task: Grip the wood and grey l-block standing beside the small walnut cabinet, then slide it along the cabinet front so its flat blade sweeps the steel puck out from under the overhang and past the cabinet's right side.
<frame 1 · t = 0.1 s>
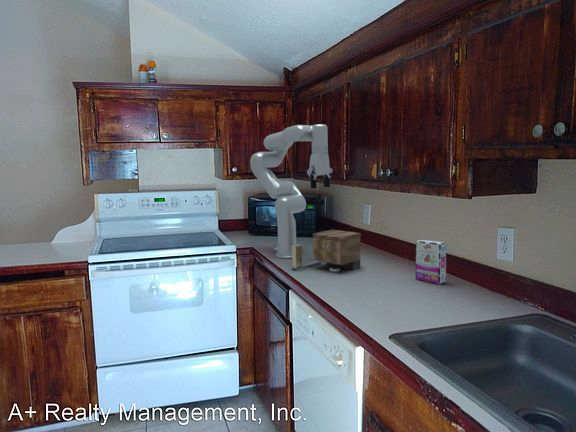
hand: (320, 187, 205), 37 cm above the table, tool pointing down, fingers open, 9 cm apart
steel token: (334, 271, 195), on the table
candy bar box: (430, 281, 174), on the table
wood and grey l-block: (297, 269, 198), on the table
cabinet: (337, 268, 199), on the table
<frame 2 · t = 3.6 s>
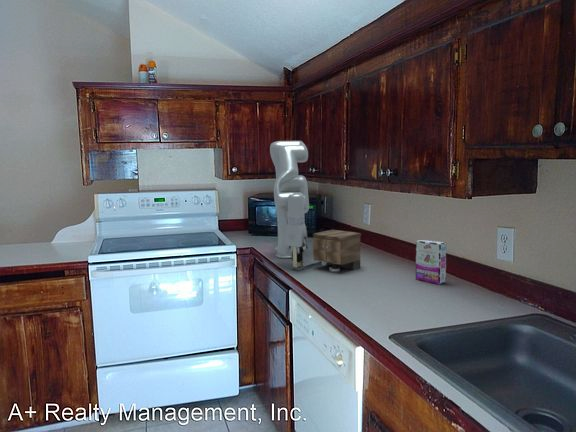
hand: (297, 260, 197), 4 cm above the table, tool pointing down, fingers closed on wood and grey l-block, 2 cm apart
wood and grey l-block: (298, 269, 198), on the table, touching gripper
everything else where it was.
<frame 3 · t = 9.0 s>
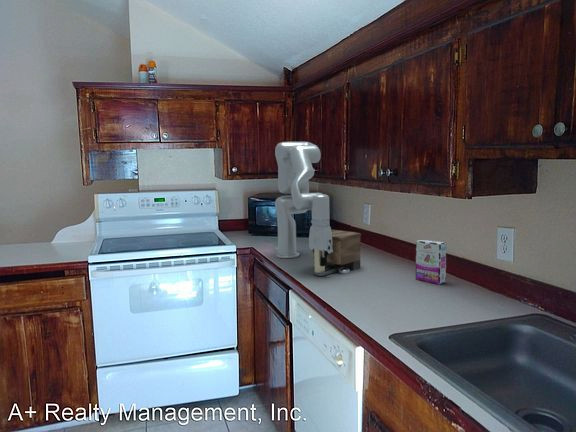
hand: (321, 264, 186), 5 cm above the table, tool pointing down, fingers closed on wood and grey l-block, 2 cm apart
steel token: (344, 272, 191), on the table
wood and grey l-block: (319, 274, 186), on the table, touching gripper
everything else where it was.
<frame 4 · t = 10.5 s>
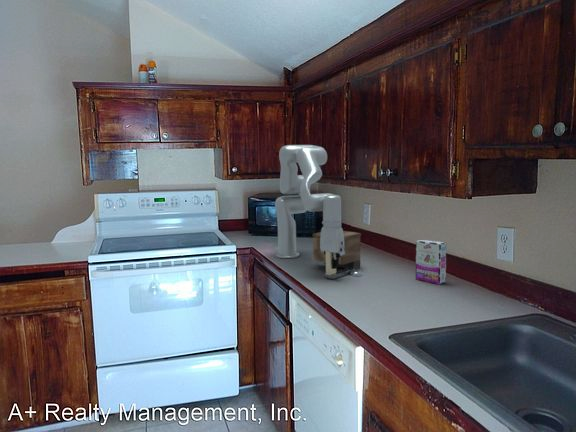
hand: (332, 267, 182), 5 cm above the table, tool pointing down, fingers closed on wood and grey l-block, 2 cm apart
steel token: (356, 275, 186), on the table
wood and grey l-block: (331, 277, 182), on the table, touching gripper
everything else where it was.
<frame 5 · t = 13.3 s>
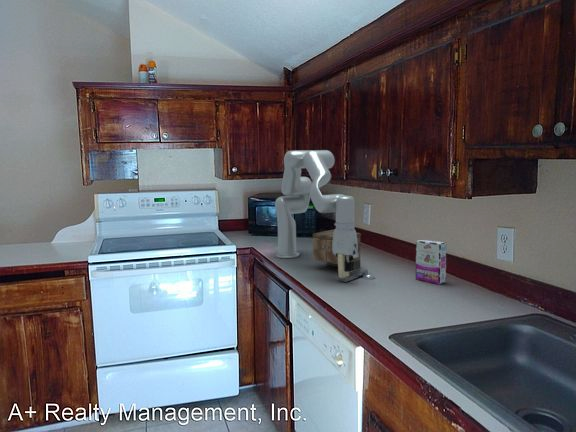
hand: (345, 270, 177), 4 cm above the table, tool pointing down, fingers closed on wood and grey l-block, 2 cm apart
steel token: (368, 278, 181), on the table, touching wood and grey l-block
wood and grey l-block: (343, 280, 177), on the table, touching gripper, steel token
everything else where it was.
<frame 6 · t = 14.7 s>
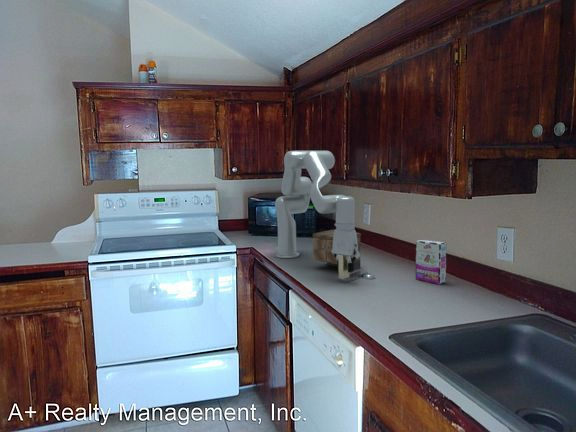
hand: (345, 270, 177), 4 cm above the table, tool pointing down, fingers open, 4 cm apart
steel token: (368, 278, 181), on the table
wood and grey l-block: (344, 281, 177), on the table
everything else where it was.
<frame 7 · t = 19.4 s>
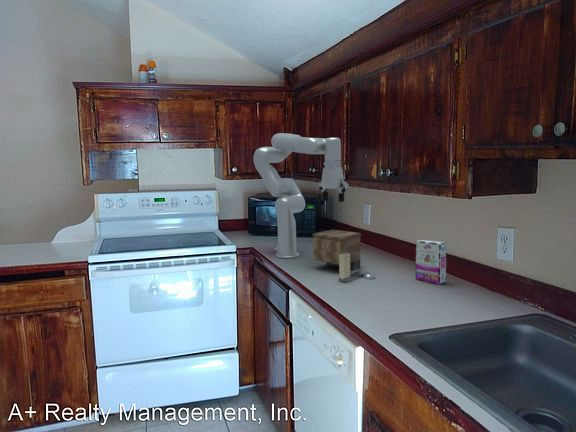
hand: (333, 201, 202), 30 cm above the table, tool pointing down, fingers open, 9 cm apart
nothing on the table moved.
at the end: steel token inside the target area (0.5 cm from its centre), on the table; steel token moved 18.5 cm from its start; the gripper is holding nothing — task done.
